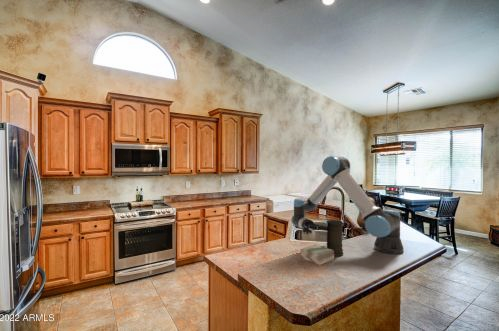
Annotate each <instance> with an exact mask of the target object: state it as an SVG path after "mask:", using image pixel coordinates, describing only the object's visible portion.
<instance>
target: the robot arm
mask: <svg viewBox="0 0 499 331" xmlns="http://www.w3.org/2000/svg"><path fill="white" fill-rule="evenodd" d="M321 169H322V171H323V173H324V174H325V175H327V176H326V177H325V178H324V180H322V182H321V183H320V184H319V185H318V187H317V188H316V189H315V190H314V191H313V192H312V194H311V195H310V196H309V198H307V199H306V200H305V198H295V199H294V200H293V216H292V217H291V220H290V222H291V224H292V225H293V226H295V227H297V228H299V229H301V230H302V233H306V235H309V234H311V235H313V236H314V237H315V236H317V231H319V230H320V231H326V232H327V224H322V223H315V222H314V221H313V220H311V219H309V218H307V217H306V213H307V212H312V211H315V210H316V209H317V208H318V204H319V203H321V201H322V200H323V199H324V198H325V197H326V196H327V194H328V193H329V192H330V191H331V190H332V189H333V187H335V186H336V184H337V183H338V185H340V187H341V188H342V189H343V191H344V192H345V193H346V195H347V196H348V197H349V199H350V200H351V201H352V203H353V204H354V206H355V207H356V208H357V210H358V211H360V212H361V213H362V215H363V216H362V219H363V221H364V222H365V228H366V229H365V230H366V231H367V232H368V234H370V235H371V236H372V237H375V238H376V239H375V240H374V244H373V249H375V250H376V251H378V252H382V253H386V254H393V255H394V254H395V255H397V254H398V255H399V253H400V254H403V253H404V246H403V243H402V239H401V213H400V212H399V211H396V210H387V209H382V207H379V206H376V204H375V205H374V204H373V202H372V201H371V200H370V199H369V197H370V196H368V195H367V193H366V191H365V190H363V188H362V187H361V186H360V184H359V183H358V182H357V181H356V180H355V179H354V177H353V176H352V174H351V173H350V172H351V162H350V160H349V159H347V157H344V156H337V155H330V156H327V157H325V158H324V160H323V161H322V165H321Z"/></svg>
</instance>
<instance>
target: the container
mask: <svg viewBox="0 0 499 331" xmlns="http://www.w3.org/2000/svg"><path fill="white" fill-rule="evenodd" d="M326 223H327V224H326V225H327V231H326V233H327V234H326V248H328V249H331V250H333V251H334V257H342V256H344V252H343V251H344V249H343V221H341V220H338V219H336V220H335V219H329V220H328V219H327V220H326Z"/></svg>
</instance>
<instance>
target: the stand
mask: <svg viewBox="0 0 499 331" xmlns="http://www.w3.org/2000/svg"><path fill="white" fill-rule="evenodd" d="M302 258H303V260H305V261H309V262H311V263H314V264H316V265H319V266H320V265H324V264H325V263H328V262H331V261H332V262H333V261H334V260H335V256H334V251H333V250H331V249H328V248H327V247H324V246H321V245H318V244H313V245H310V246H306V247H302V248H301V249H300V259H302Z"/></svg>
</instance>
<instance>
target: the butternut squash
mask: <svg viewBox="0 0 499 331" xmlns="http://www.w3.org/2000/svg"><path fill="white" fill-rule="evenodd" d="M368 197H369V199H370V200H371V201H372V202H373V204H374V205H375V206H376V202H375V199H374V198H372V197H370V196H368ZM358 211H359V210H358ZM362 216H363V215H362V213H361V212H360V211H359V212H358V215H357V219H356V223H357V226H359V228H362V229H363V230H366V228H365V222H364V221H363V219H362Z"/></svg>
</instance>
